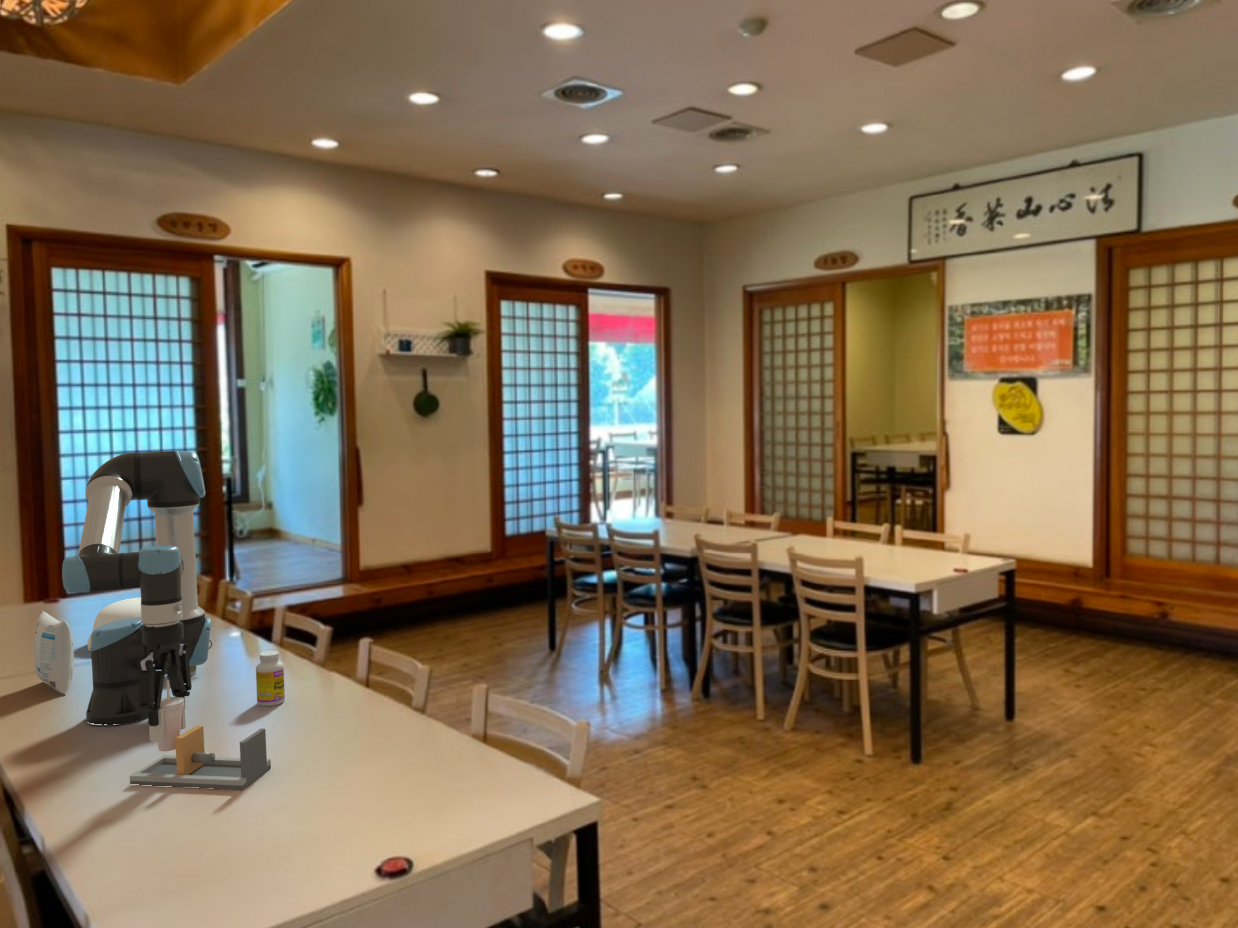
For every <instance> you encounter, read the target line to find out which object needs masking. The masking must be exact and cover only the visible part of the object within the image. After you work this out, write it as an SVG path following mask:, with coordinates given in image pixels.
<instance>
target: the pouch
mask: <svg viewBox="0 0 1238 928" xmlns="http://www.w3.org/2000/svg"><path fill="white" fill-rule="evenodd" d="M33 637H34V638H33V647H34V648H33V653H34V654H33V659H34V667H35V672H36V675H37V677H38V678H39V680H41V682H44V681H45V682H46V683H47V684H48V685H49V686H51V687H53V688H54V689H55V690H56V691H58V692H59V693H61V694H62V693H68V692H69V690H70V688H71V684H72V680H73V673H74V663H75V662H74V661H75V659H74V657H75V656H74V653H75V652H74V641H73V640H74V639H73V638H74V637H73V634H72V630H71V627H70V625H69V623H67V622H66V621H65V620H62V621H59V620H58V619H56V618H55V617H53V616H52V615H50V614H49V613H47V612H45V611H44V610H42V611H41V613H40V614H39V616H38V618H37V621H36V625H35V631H34V636H33Z"/></svg>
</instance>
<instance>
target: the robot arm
mask: <svg viewBox="0 0 1238 928" xmlns="http://www.w3.org/2000/svg"><path fill="white" fill-rule="evenodd" d="M205 496H206V489H205V483H204V476H203V472H202V467H201V461H200V459H199V455H198V454H197V453H195V452H194V451H191V450H190V451H189V450H166V451H164V450H163V451H147V452H144V451H142V452H136V451H135V452H133V451H131V452H126V453H122V454H119V455H116V456H114V457H111V458H110V459H109V460H106V461H105V462H104V463H102V464H101V465H100V466H99V467H98V468H97V469H96V470H95V471H94V472H93V473H92V474H91V476H90V478H89V479H88V482H87V483H86V488H85V498H86V501H87V502H88V503H87V509H86V514H85V519H84V524H83V528H82V533H81V538H80V543H79V548H78V553H77V554H76V555H74V556H67V557H65V559H63V561H62V570H61V573H62V575H61V578H62V584H63V588H64V590H65V591H66V592H68V593H91V592H92V593H95V592H103V591H104V592H105V591H113V590H123V589H124V590H125V589H127V590H128V589H140V597H141V618H128V619H123V620H118V621H114V622H111V623H108V624H105V625H102V626H100V627H98V628H96V629H95V630H94V631H93V630H92V633H91V634H90V635H91V647H90V655H91V656H90V658H91V671H92V676H91V677H92V692H91V695H90V698H89V701H88V705H87V709H86V712H85V713H86V714H85V719H86V720H87V721H86V723H87V722H89V723H94V724H102V725H104V724H107V725H113V724H122V725H126V724H125V723H128V724H131V723H135V722H139V721H143V720H145V719H147V720H148V721H147V724H148V728H149V741H150V742H157V741H164V740H165V735H164V715H163V708H160V704H161V698H163V697H162V696H163V695H162V694H163V690H164V689H163V688H164V684H165V683H164V681H165V677H167V680H169V686H170V690H171V691H170V692H171V694H172V697H180V698H183V699H184V705H183V706H182V716H181V727H180V730H185V729H186V727H187V726H186V702H185V701H186V700H185V699H186V698H185V697H189V696H190V694H191V692H190V691H192V677H191V676H190V666H196V665H197V666H201V665H203V664H205V663H206V662H207V660H208V656H209V650H210V649H209V647H210V642H209V640H211V639H210V637H211V627H212V618H211V617H207V616H206V613H205V609H203V608H202V607H201V606H199V604H198V603H199V602H198V601H199V600H198V599H199V598H198V586H197V584H198V583H197V581H198V580H197V565H196V563H197V562H196V561H197V560H196V544H195V543H196V541H195V524H194V523H195V522H194V521H195V519H194V511H196V509H197V508H198V507H199V506H200V498H201V499H202V498H204V497H205ZM131 501H147V504H146V506H147V508H148V509H149V510H150V511H151V512H152V513H153V514H154V522H155V523H154V524H155V542H156V543H155V544H156V545H153V546H147V547H143V548H141V549H140V550H139V551H132V552H120V548H121V543H122V542H121V541H122V536H123V535H122V534H123V527H124V522H125V514H126V507H127V506H128V505H129V504H130V503H131ZM208 649H209V650H208ZM197 666H196V667H197ZM166 675H167V676H166ZM154 703H155V704H154Z"/></svg>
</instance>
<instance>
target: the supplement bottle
mask: <svg viewBox="0 0 1238 928" xmlns="http://www.w3.org/2000/svg"><path fill="white" fill-rule="evenodd" d="M279 658H280V651H277V650H268V651H262V652H260V653H259V660H260V662H259V663H258V664H257V665H256V667H255V678H256V681H255V683H256V684H255V685H256V703H257V704H258V705H259V706H262V707H273V706H278V705H281V704H282V703H284V702H285V698H286V695H285V669H284V668H285V667H284V663H283V662H282V661H280V660H279Z"/></svg>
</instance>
